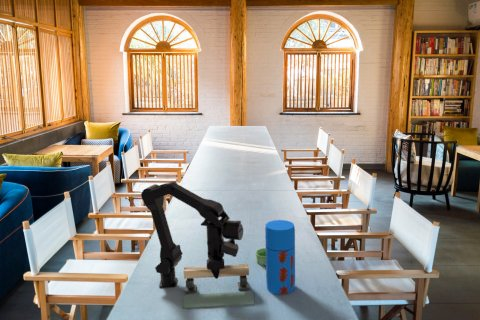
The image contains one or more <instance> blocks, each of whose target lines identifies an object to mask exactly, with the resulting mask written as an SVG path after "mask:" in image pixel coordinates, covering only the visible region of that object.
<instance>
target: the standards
mask: <svg viewBox="0 0 480 320" xmlns="http://www.w3.org/2000/svg"><path fill="white" fill-rule="evenodd" d="M243 264H244V263H241V264H240V263H239V264H238V265H243ZM237 289H238V291H249V290H250V285H249V281H248V277H247V275H245V276H239V281H237ZM196 291H197V284H195V278H187V279H186V280H185V288H184V294H197V293H196Z"/></svg>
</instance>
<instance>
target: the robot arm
mask: <svg viewBox="0 0 480 320" xmlns="http://www.w3.org/2000/svg"><path fill="white" fill-rule="evenodd" d="M167 195H169V196H172V197H174V198H175V199H177V200H178V201H181V202H182V203H183V204H186V205H187V206H188V207H191V208H192V209H195V210H196V211H197V213H198V214H199V216H200V217H202V218H203V219H204V220H203V221H202V222H201V223H200V226H203V227H206V244H207V259H206V266H207V269H208V270H211V272H212V274H213V275H214V277H213V278H214V279H216V280H217V279H219V277H218V276H219V271H220V269H224V265H225V259H224V257H225V255H228V256H231V257H234V258H236V257H237V256H238V251H239V245H238V243H236V241H241V240H242V238H243V236H244V227H243V224H242V221H241V220H230V217H229V215H228V214H227V212H226V211H225V210H224V207H223V205H222V204H221V203H220V202H219V201H215V200H213V199H207V198H204V197H201V196H199V195H197V194H196V193H194V192H193V191H190V190H188V189H187V188H185V187H183V186H182V185H180V184H178V183H177V182H176V181H173V180H172V181H169V182H168V183H167V182H166V183H163V184H160V185H158V184H156V183H154V184H152V185H150V186H148V187H146V188H145V189H143V190H142V192H141V193H140V196H141V197H140V198H141V200H142V202H143V204H144V206H145V207H146V208H147V209H148V210H149V211H150V214H151V217H152V220H153V224H154V227H155V231H156V235H157V238H158V241H159V245H160V250H159V251H160V252H159V261H160V262H159V263H158V264H157V265H156V266H155V267H154V269H155V271H156V273H157V274H158V273H159V275H160V281H159V285H158V287H159V288H170V287H171V288H173V287H177V285H178V284H177V283H178V277H176V266H178V264H179V263H180V262H181V260H182V257H183V256H182V255H184V254H183V252H182V250H181V249H182V248H181V245H180V244H175V242H174V240H173V237H172V233H171V230H170V226H169V224H168V220H167V216H166V213H165V210H164V209H165V208H164V201H165V196H167ZM224 239H225V240H224Z"/></svg>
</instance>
